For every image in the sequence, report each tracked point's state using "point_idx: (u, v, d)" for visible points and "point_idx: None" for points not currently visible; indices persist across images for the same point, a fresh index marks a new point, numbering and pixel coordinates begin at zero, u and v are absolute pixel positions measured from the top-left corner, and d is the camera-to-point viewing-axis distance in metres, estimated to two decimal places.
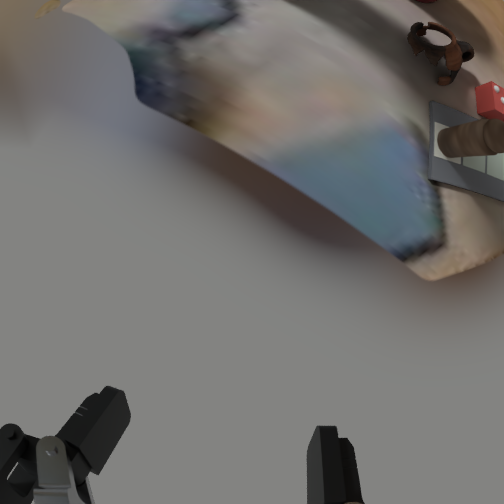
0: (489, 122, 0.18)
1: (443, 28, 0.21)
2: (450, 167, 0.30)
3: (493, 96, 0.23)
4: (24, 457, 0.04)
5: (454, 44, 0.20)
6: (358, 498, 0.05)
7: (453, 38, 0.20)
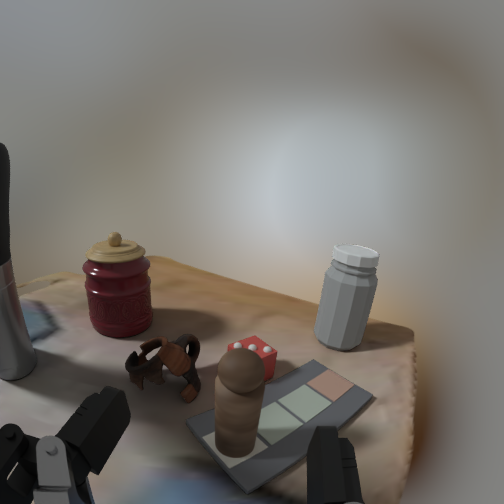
0: (218, 368, 0.21)
1: (153, 340, 0.35)
2: (260, 461, 0.23)
3: None
4: (24, 457, 0.04)
5: (165, 344, 0.32)
6: (358, 498, 0.05)
7: (163, 340, 0.34)
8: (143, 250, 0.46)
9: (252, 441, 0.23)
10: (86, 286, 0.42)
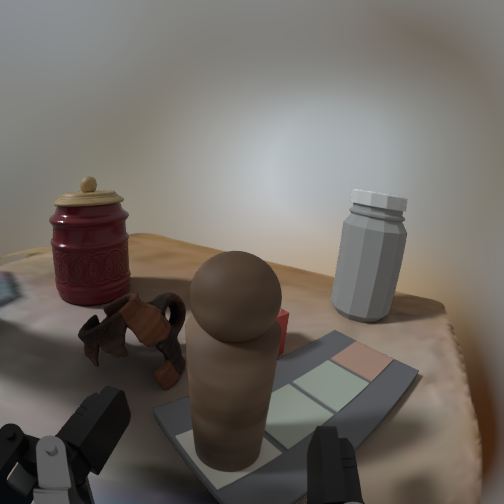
0: None
1: (120, 298, 0.25)
2: (270, 476, 0.13)
3: None
4: (24, 457, 0.04)
5: (133, 299, 0.22)
6: (358, 498, 0.05)
7: (131, 295, 0.23)
8: (121, 197, 0.36)
9: (257, 444, 0.13)
10: (51, 241, 0.32)
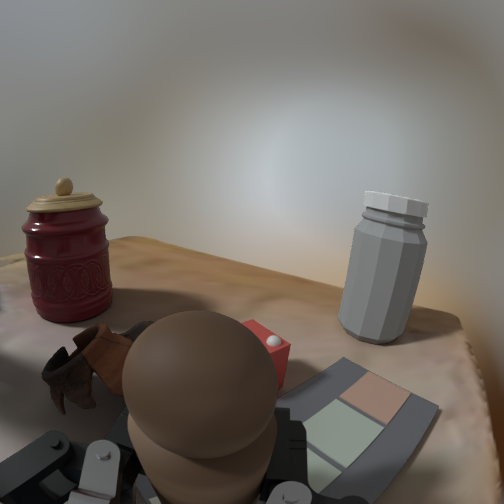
0: None
1: (90, 329, 0.19)
2: None
3: None
4: (65, 468, 0.05)
5: (100, 335, 0.16)
6: (303, 480, 0.06)
7: (100, 328, 0.17)
8: (99, 201, 0.31)
9: None
10: (25, 250, 0.26)
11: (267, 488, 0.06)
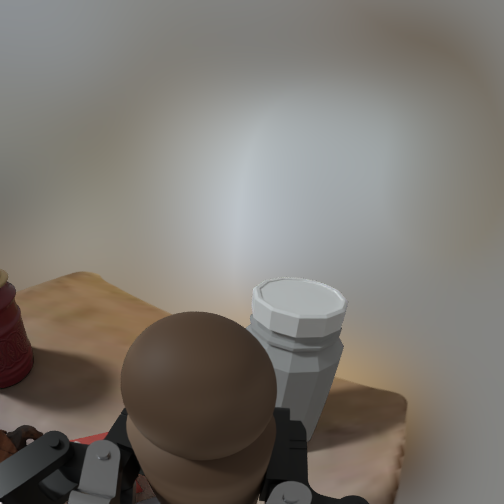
0: None
1: None
2: None
3: None
4: (65, 467, 0.05)
5: None
6: (304, 480, 0.06)
7: None
8: (0, 282, 0.24)
9: None
10: None
11: (267, 488, 0.06)
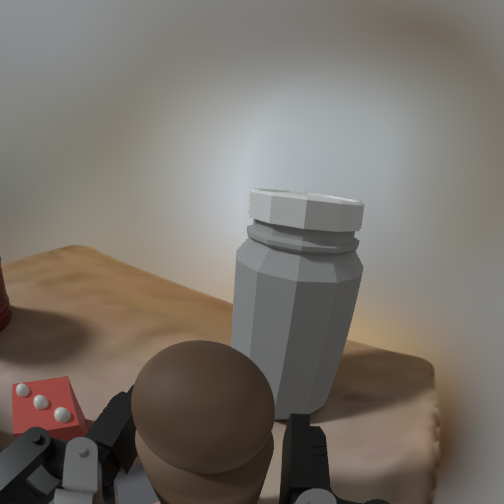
0: None
1: None
2: None
3: None
4: (48, 462, 0.05)
5: None
6: (326, 486, 0.06)
7: None
8: None
9: None
10: None
11: (289, 496, 0.06)
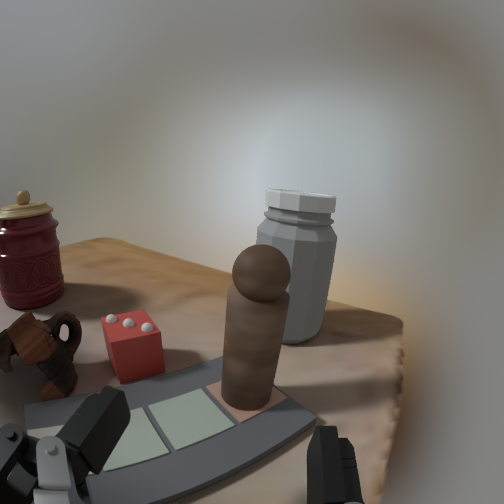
0: (233, 268, 0.19)
1: None
2: None
3: (105, 330, 0.23)
4: (24, 457, 0.04)
5: (21, 318, 0.17)
6: (358, 498, 0.05)
7: (24, 313, 0.18)
8: (48, 209, 0.33)
9: (269, 385, 0.20)
10: None
11: None
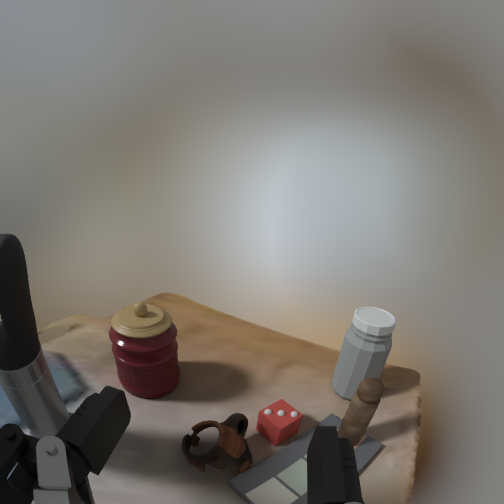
0: (359, 390, 0.33)
1: (205, 423, 0.34)
2: None
3: (270, 421, 0.36)
4: (24, 457, 0.04)
5: (223, 433, 0.31)
6: (358, 498, 0.05)
7: (218, 427, 0.32)
8: (170, 318, 0.47)
9: (363, 433, 0.34)
10: (115, 354, 0.42)
11: None
